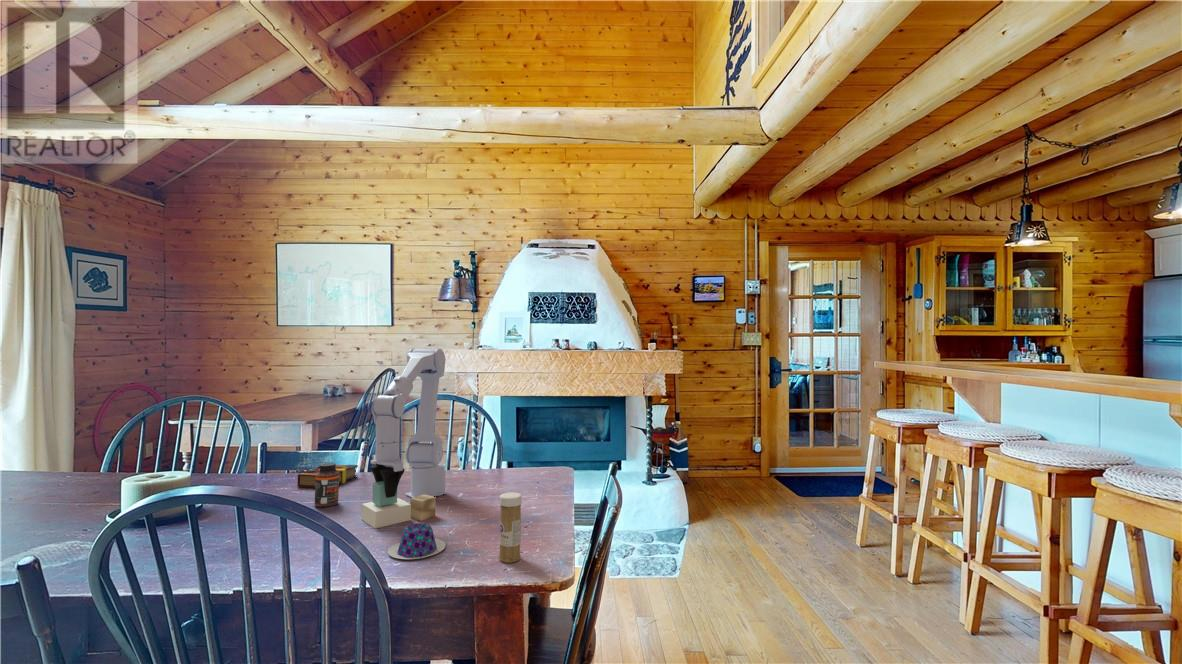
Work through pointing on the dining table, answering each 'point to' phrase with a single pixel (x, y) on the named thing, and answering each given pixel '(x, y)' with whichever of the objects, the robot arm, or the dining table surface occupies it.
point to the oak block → (422, 507)
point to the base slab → (386, 513)
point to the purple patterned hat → (416, 543)
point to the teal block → (382, 495)
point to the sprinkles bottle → (510, 527)
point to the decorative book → (310, 475)
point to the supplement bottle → (327, 485)
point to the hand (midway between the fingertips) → (386, 494)
